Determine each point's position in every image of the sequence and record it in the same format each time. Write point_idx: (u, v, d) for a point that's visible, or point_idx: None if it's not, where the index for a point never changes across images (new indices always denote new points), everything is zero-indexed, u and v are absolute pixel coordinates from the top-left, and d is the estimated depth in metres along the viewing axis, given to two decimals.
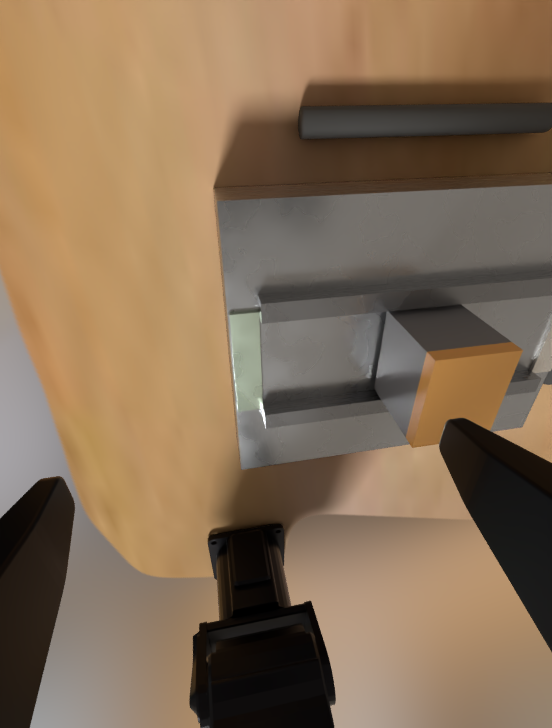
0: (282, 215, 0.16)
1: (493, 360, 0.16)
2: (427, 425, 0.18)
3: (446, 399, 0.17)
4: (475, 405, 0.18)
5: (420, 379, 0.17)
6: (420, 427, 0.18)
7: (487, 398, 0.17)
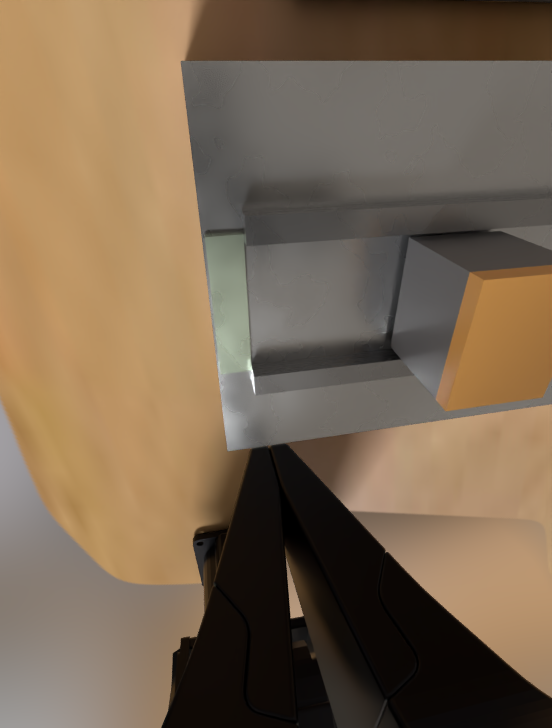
0: (271, 88, 0.12)
1: None
2: (466, 379, 0.13)
3: (494, 341, 0.13)
4: (531, 351, 0.13)
5: (459, 314, 0.13)
6: (457, 382, 0.13)
7: (547, 342, 0.13)
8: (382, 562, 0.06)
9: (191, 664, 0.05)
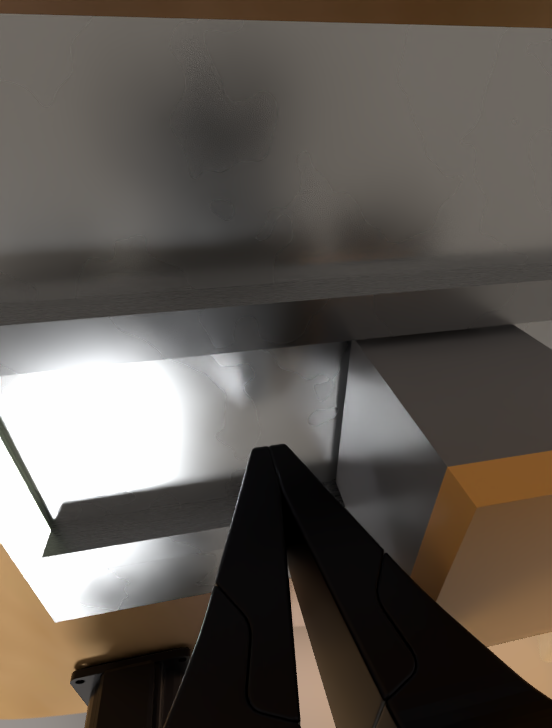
0: None
1: None
2: None
3: (499, 582, 0.06)
4: None
5: (428, 529, 0.06)
6: None
7: None
8: (381, 562, 0.06)
9: (193, 664, 0.05)
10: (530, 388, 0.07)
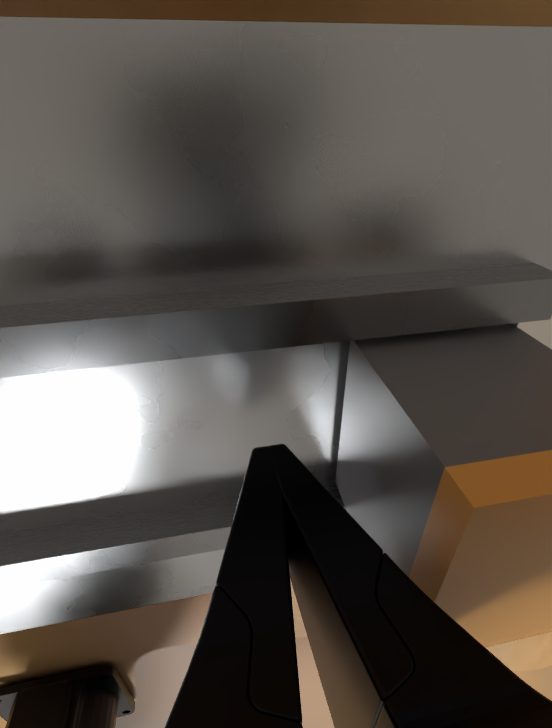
0: None
1: None
2: None
3: (497, 582, 0.06)
4: None
5: (427, 529, 0.06)
6: None
7: None
8: (379, 563, 0.06)
9: (194, 663, 0.05)
10: (528, 388, 0.07)
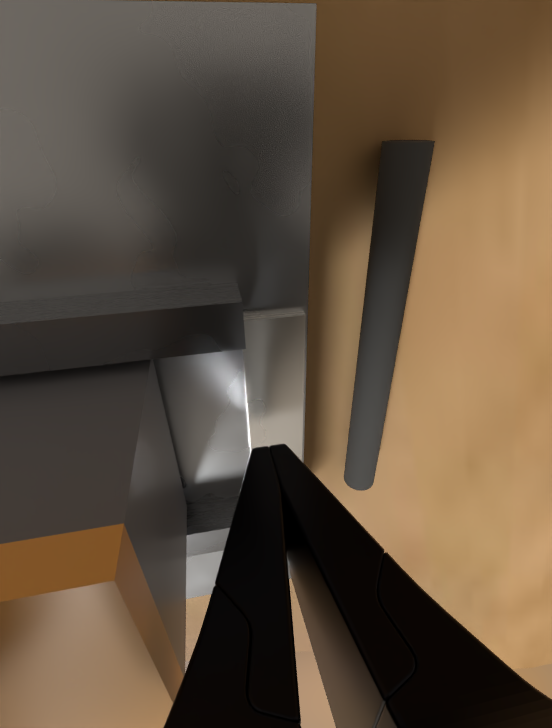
0: None
1: None
2: None
3: None
4: (65, 701, 0.06)
5: None
6: None
7: (97, 685, 0.05)
8: (381, 562, 0.06)
9: (193, 664, 0.05)
10: (35, 455, 0.06)
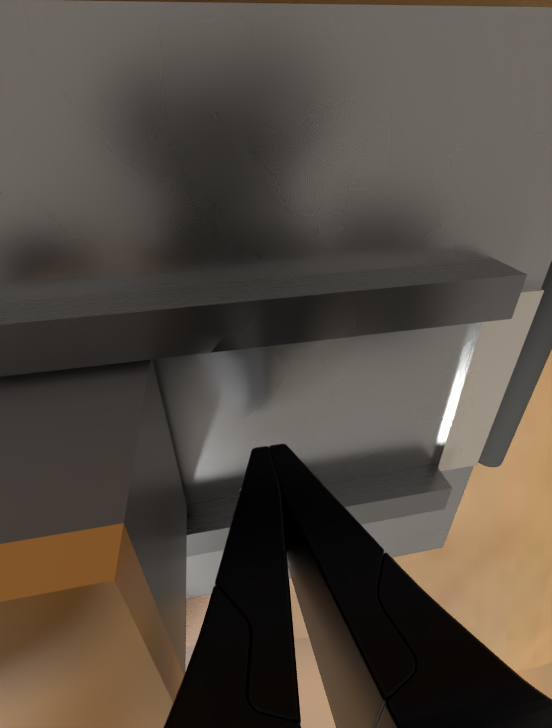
0: None
1: None
2: None
3: None
4: (65, 701, 0.06)
5: None
6: None
7: (97, 684, 0.05)
8: (381, 562, 0.06)
9: (193, 664, 0.05)
10: (35, 455, 0.06)
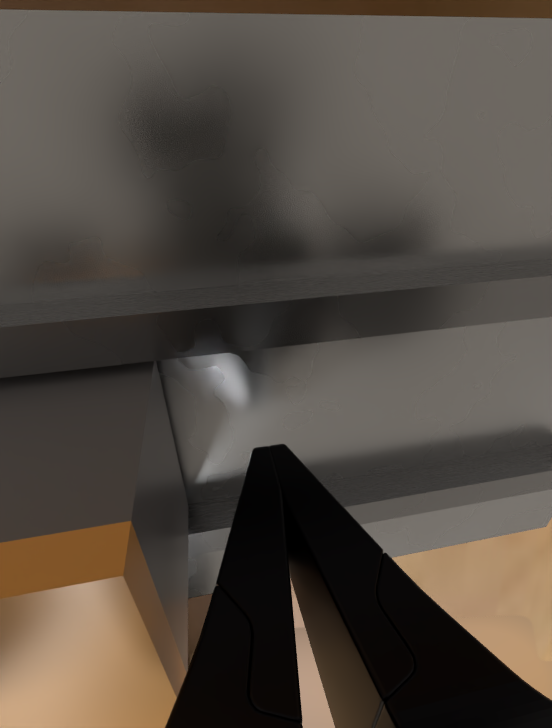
0: None
1: (11, 615, 0.04)
2: None
3: None
4: (72, 696, 0.06)
5: None
6: None
7: (102, 680, 0.06)
8: (380, 562, 0.06)
9: (194, 663, 0.05)
10: (43, 454, 0.06)
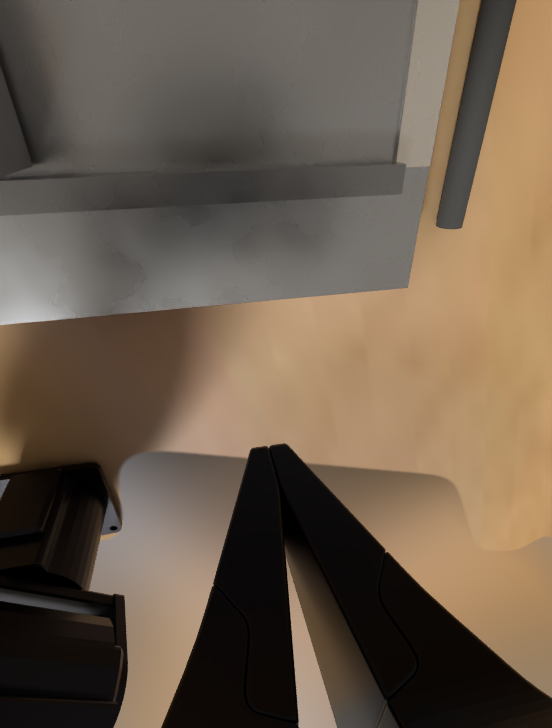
0: None
1: None
2: None
3: None
4: None
5: None
6: None
7: None
8: (382, 562, 0.06)
9: (191, 664, 0.05)
10: None
